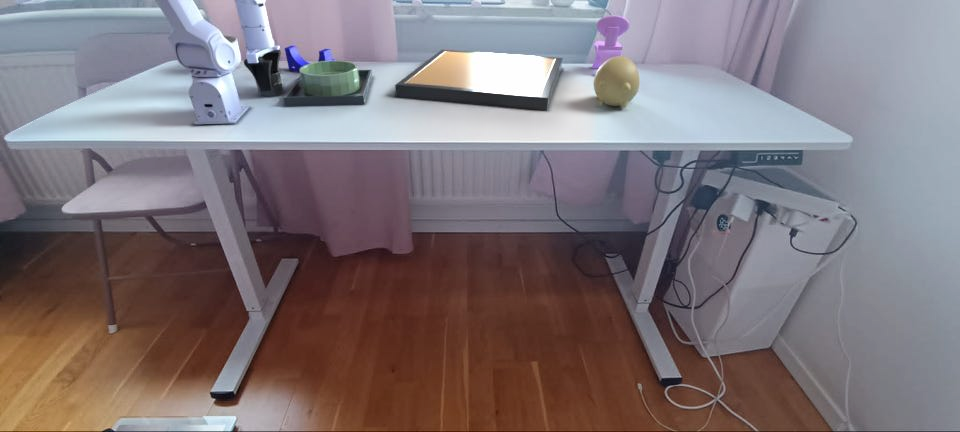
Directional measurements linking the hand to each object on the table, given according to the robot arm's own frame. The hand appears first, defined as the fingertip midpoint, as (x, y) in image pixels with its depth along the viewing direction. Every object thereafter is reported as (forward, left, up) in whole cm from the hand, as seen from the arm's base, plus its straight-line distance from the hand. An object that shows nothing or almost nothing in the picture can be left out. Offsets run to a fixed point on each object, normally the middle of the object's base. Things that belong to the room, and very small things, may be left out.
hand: (270, 86), depth 108 cm
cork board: (+6, -52, -2) cm, 53 cm away
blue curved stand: (+19, -6, -2) cm, 20 cm away
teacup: (+22, +20, -2) cm, 30 cm away
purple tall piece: (+12, -86, -2) cm, 87 cm away
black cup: (0, 0, -2) cm, 2 cm away
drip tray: (+1, -14, -2) cm, 14 cm away
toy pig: (-14, -79, -2) cm, 80 cm away
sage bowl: (+1, -14, -2) cm, 14 cm away
